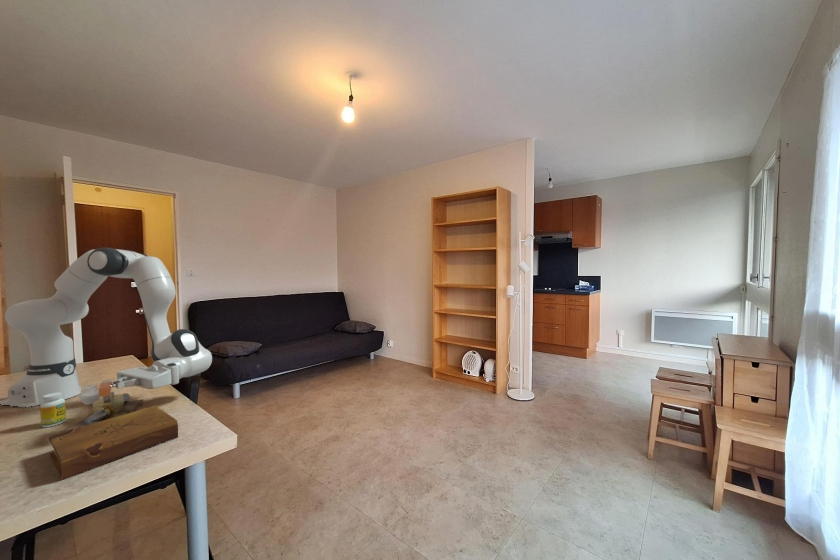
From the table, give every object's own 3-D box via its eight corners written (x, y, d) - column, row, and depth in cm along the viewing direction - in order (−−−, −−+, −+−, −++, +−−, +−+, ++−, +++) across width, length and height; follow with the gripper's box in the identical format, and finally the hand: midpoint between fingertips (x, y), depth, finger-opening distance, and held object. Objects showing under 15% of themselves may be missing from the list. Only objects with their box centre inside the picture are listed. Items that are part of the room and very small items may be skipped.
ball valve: (101, 426, 99) (100, 409, 99) (79, 429, 97) (78, 411, 97) (133, 401, 118) (133, 386, 118) (116, 403, 116) (115, 388, 116)
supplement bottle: (49, 421, 105) (47, 392, 105) (70, 418, 107) (69, 390, 107) (36, 429, 100) (34, 398, 100) (58, 426, 102) (57, 396, 101)
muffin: (85, 407, 115) (84, 388, 115) (75, 405, 118) (74, 386, 117) (106, 401, 121) (105, 382, 121) (97, 398, 123) (96, 381, 123)
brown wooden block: (62, 483, 75) (60, 459, 75) (49, 457, 86) (48, 436, 86) (178, 439, 94) (177, 419, 94) (156, 422, 105) (155, 404, 105)
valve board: (113, 428, 100) (113, 423, 100) (67, 434, 96) (67, 429, 96) (143, 403, 119) (143, 399, 119) (106, 407, 115) (105, 403, 115)
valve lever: (103, 397, 108) (102, 375, 107) (114, 395, 109) (113, 373, 109) (98, 414, 95) (97, 389, 95) (112, 411, 97) (110, 387, 97)
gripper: (146, 360, 118) (96, 372, 105) (180, 366, 110) (131, 379, 97) (147, 376, 118) (98, 390, 106) (181, 384, 110) (132, 400, 98)
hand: (114, 385), depth 101 cm, fingers closed
